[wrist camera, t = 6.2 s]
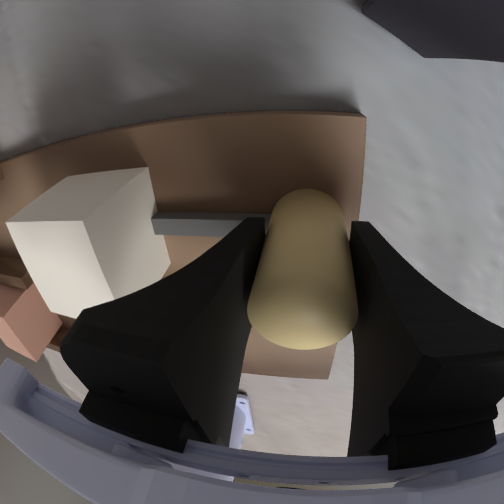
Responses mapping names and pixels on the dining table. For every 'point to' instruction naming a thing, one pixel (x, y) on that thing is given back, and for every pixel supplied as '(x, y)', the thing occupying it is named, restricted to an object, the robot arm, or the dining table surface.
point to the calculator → (444, 26)
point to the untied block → (26, 320)
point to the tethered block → (188, 224)
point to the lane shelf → (205, 188)
